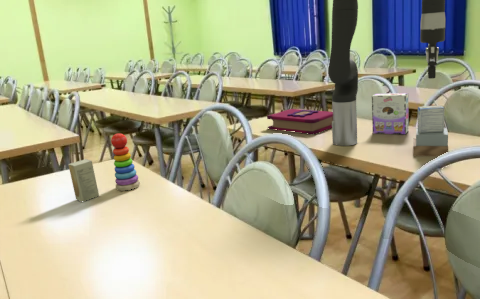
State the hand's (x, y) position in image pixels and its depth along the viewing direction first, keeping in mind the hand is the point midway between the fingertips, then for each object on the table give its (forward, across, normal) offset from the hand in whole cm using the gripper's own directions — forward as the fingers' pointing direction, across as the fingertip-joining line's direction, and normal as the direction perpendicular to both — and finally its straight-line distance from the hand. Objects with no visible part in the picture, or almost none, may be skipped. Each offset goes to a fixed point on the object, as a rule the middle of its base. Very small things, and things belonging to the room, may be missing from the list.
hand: (431, 76), depth 152 cm
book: (+27, -39, -55) cm, 73 cm away
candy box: (+27, -28, -15) cm, 41 cm away
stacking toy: (+27, +49, -94) cm, 109 cm away
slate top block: (+23, 0, 0) cm, 23 cm away
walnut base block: (+27, 0, 0) cm, 27 cm away
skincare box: (+27, +60, -102) cm, 121 cm away
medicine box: (+19, 0, 0) cm, 19 cm away
